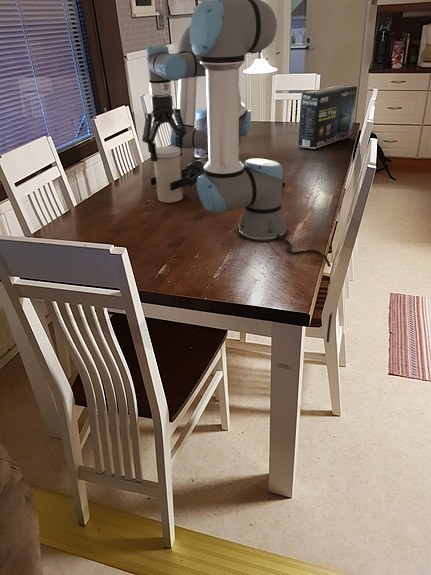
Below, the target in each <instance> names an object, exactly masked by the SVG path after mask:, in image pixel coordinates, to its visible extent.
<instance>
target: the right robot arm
mask: <svg viewBox="0 0 431 575" xmlns="http://www.w3.org/2000/svg"><path fill="white" fill-rule="evenodd" d="M189 26H190V43H191V45H192V50H193V52H189V53H177V52H175V53H170V52H169V47H168V46H167V45H164V44H163V45H162V44H161V45H149V46H147V47H146V49H145V50H146V51H145V54H146V57H145V58H146V64H147V72H148V82H149V94H150V95H151V96H150V103H151V108H152V109H151V110H152V111H151V112H149V113H148V112H145V113H144V119H145V120H144V126H143V134H142V138H141V140H142V142H143V143H146V144H147V150H148V153H150V161H152V162H153V163H154V162H157V157H156V148H157V147H156V142H154V141H155V139H156V136H157V133H158V131H159V129H160V126H161V125H162V124H163V125H164V124H165V123H167V124H169V126H170V127H171V129H172V130H174V132H175V133H176V135H177V136H178V137H175V141H176V147H179V148H180V149H181V154H180V157H181V156H183V149H182V146H183V137H184V135H186V134H187V132H186V129H185V126H184V123H183V120H182V118H181V114H180V109H178V108H177V107H174V108H173V105H174V104H173V96H172V95H171V94H172V93H173V91H172V82H174V81H176V82H177V81H179V80H180V79H182V78H192V77H197V78H198V77H205V86H206V107H207V120H208V151H209V161H208V162H207V163H206V164H205V165H204V175H203V174H202V175H201V176H199V177H198V179H197V183H196V189H197V193H198V197H199V200H200V202H201V204H202V205H203V207H204V208H205V209H206V210H207V211H208V212H209V213H211V214H219V213H226V212H230V211H232V210H238V209H242V208H244V211H243V213H242V216H241V220H240V222H239V223H238V232H239V235H240V236H241V237H242V238H244V239H247V240H250V241H254V242H271V241H277V240H279V239H280V240H282V241H283V242H285V243H286V244H287V245H288V247H287V248H286V251H287V253H289V254H291V255H301V254H306V253H315V254H319V255H321V256H322V257H323V258H324V260H325V263H326V265H327V267H328V268H331V266H332V265H331V263H330V261H329V259H328V256H327V255H326V253H324V252H323V251H320V250H317V249H304V250H299V251H298V250H297V251H295V250H291V248H292V243H291V242H290V241H289V240H287V239H286V238H284V237H285V235H286V234H287V223H286V221H285V216H284V214H283V210H282V200H283V187H282V181H284V172H283V171H284V169H283V166H282V164H280V162H277V161H275V160H270V159H265V158H248V159H246V160H245V161H244V163H243V162H241V160H240V154H239V153H240V148H239V147H240V146H239V145H240V143H239V142H240V141H239V140H240V139H239V138H240V136H239V88H240V67H242V66H243V64H244V63H245V61H246V55H247V54H258V53H259V52H261V51H264V50H265V49H267V48H268V47H269V46H270V45H271V44H272V43H273V41H274V40H275V38H276V36H277V32H278V20H277V16H276V13H275V11H274V10H273V8H272V7H271V6H270V5H269V4H268V3H266V2H265V1H263V0H205V1H202V2H199V3H198V5H197V6H196V7H195V8H194V11H193V13H192V14H191V19H190V25H189ZM173 115H174V118H173ZM177 124H178V126H177ZM178 127H179V128H178ZM332 318H333V311H331V313H330V314H329V315H328V324H327V332H326V343H330V335H331V325H332V320H333V319H332Z"/></svg>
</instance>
